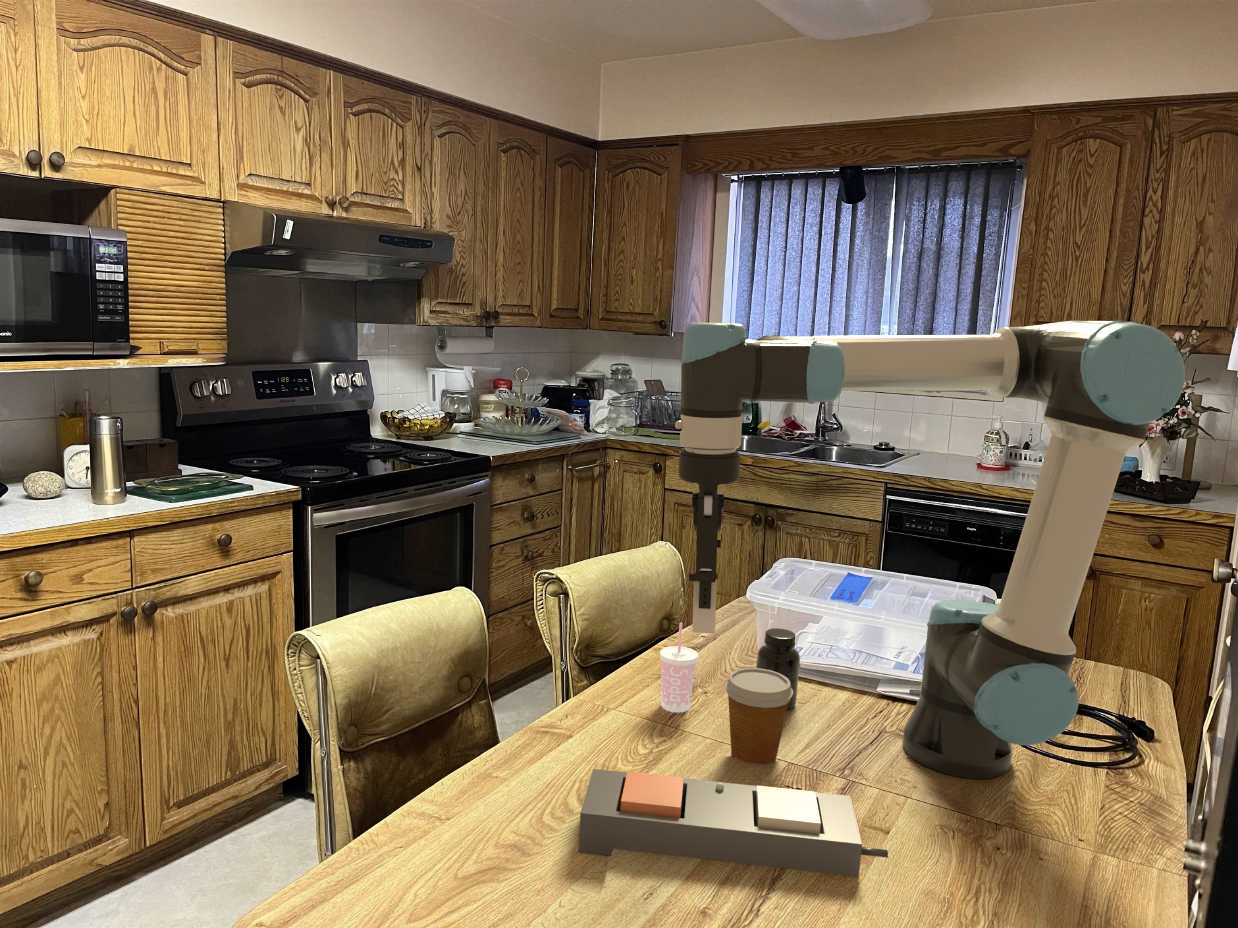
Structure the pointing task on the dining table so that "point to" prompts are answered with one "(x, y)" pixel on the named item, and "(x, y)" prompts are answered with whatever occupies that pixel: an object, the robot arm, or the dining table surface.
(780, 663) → the supplement bottle
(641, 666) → the dining table surface
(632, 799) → the button orange
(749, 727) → the disposable coffee cup
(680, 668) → the beverage cup
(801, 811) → the button ivory
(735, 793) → the push button control box
